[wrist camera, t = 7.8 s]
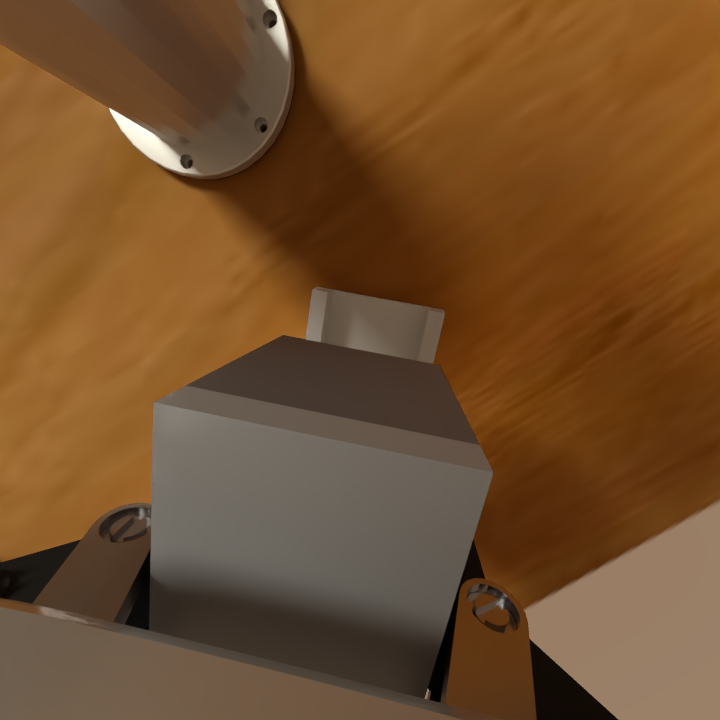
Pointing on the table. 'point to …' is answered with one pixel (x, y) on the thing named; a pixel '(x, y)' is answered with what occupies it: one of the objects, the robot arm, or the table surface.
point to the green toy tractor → (374, 324)
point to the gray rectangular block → (315, 510)
